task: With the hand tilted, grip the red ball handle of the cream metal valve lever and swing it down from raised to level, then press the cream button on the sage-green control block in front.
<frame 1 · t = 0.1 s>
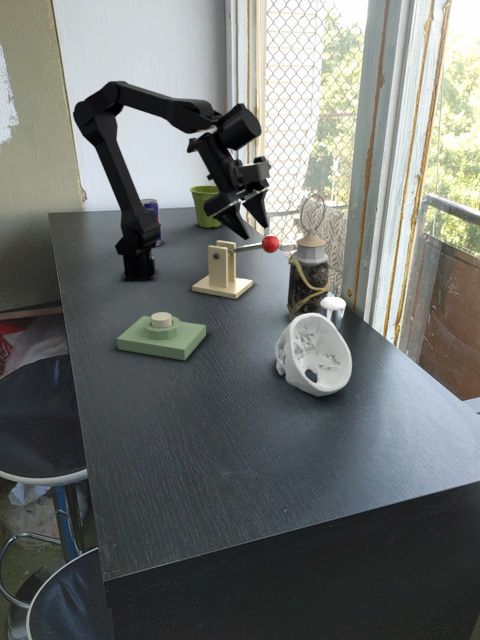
hand: (257, 233, 107), 15 cm above the table, tool tilted 35°, fingers open, 9 cm apart
button: (161, 320, 94), point 4 cm above the table, slide at 0.1 cm
lantern: (306, 320, 106), on the table
plant pot: (210, 225, 165), on the table
skull bowl: (307, 381, 86), on the table
bracket: (222, 288, 120), on the table
energy drink: (151, 244, 148), on the table
lever: (246, 248, 113), point 10 cm above the table, hinge at 17.1°
milkshake: (329, 343, 98), on the table
control block: (163, 342, 97), on the table
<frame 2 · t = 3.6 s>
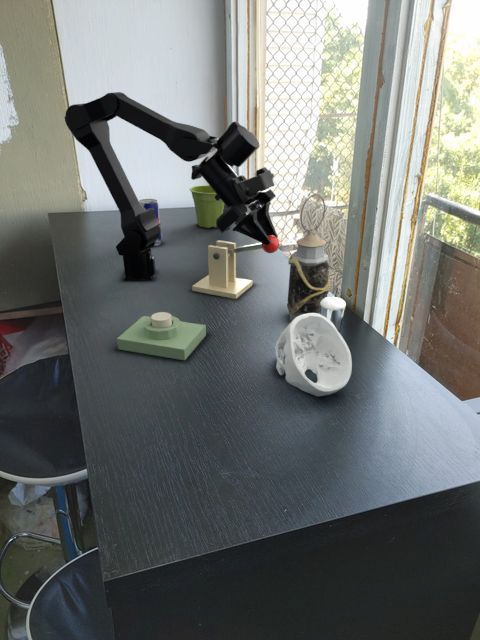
hand: (272, 241, 110), 13 cm above the table, tool tilted 45°, fingers closed on lever, 4 cm apart
lever: (246, 248, 113), point 10 cm above the table, hinge at 17.0°, touching gripper
everything else where it was.
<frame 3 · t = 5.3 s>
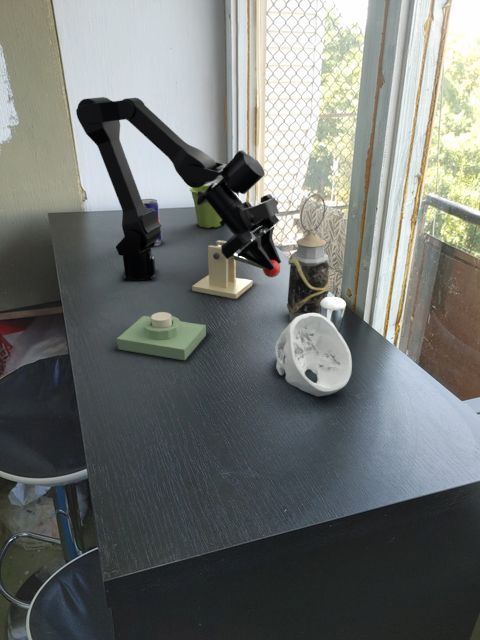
hand: (276, 266, 112), 7 cm above the table, tool tilted 45°, fingers closed on lever, 3 cm apart
lever: (247, 260, 114), point 8 cm above the table, hinge at -9.0°, touching gripper
everything else where it was.
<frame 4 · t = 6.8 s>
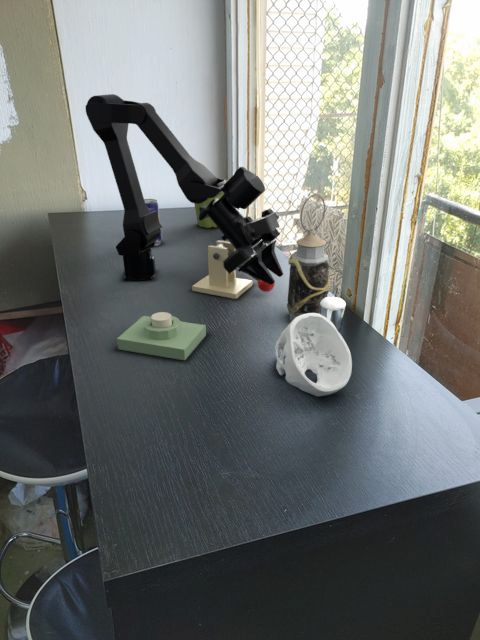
hand: (277, 279, 114), 4 cm above the table, tool tilted 45°, fingers open, 5 cm apart
lever: (244, 268, 115), point 6 cm above the table, hinge at -27.1°
everything else where it was.
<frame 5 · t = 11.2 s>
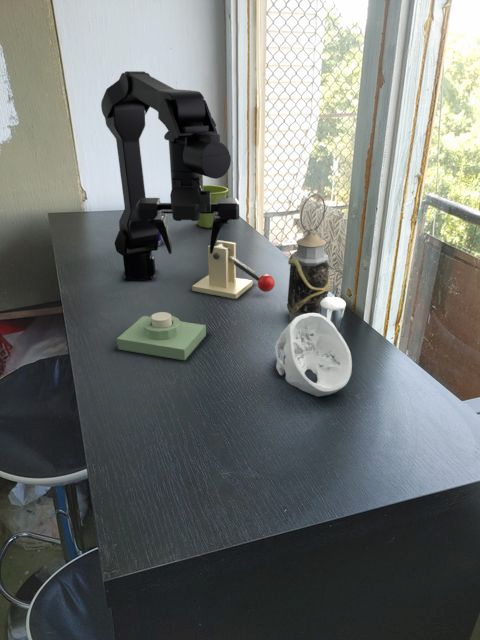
hand: (190, 253, 101), 13 cm above the table, tool pointing down, fingers open, 7 cm apart
nothing on the table moved.
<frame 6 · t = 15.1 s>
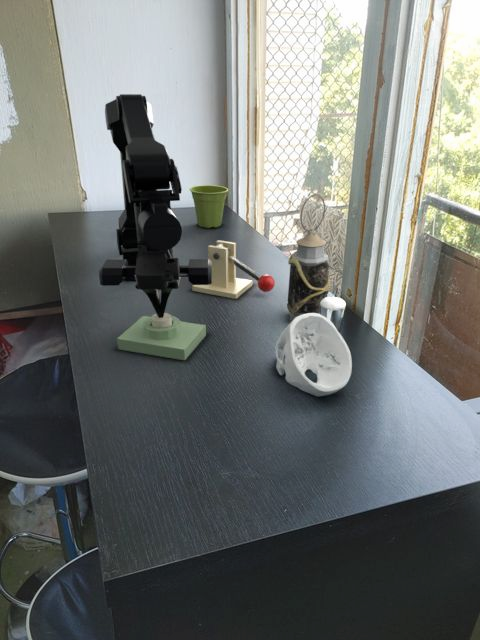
hand: (161, 316, 94), 5 cm above the table, tool pointing down, fingers closed, pressing on button
button: (161, 321, 95), point 4 cm above the table, slide at -0.1 cm, touching gripper
everything else where it was.
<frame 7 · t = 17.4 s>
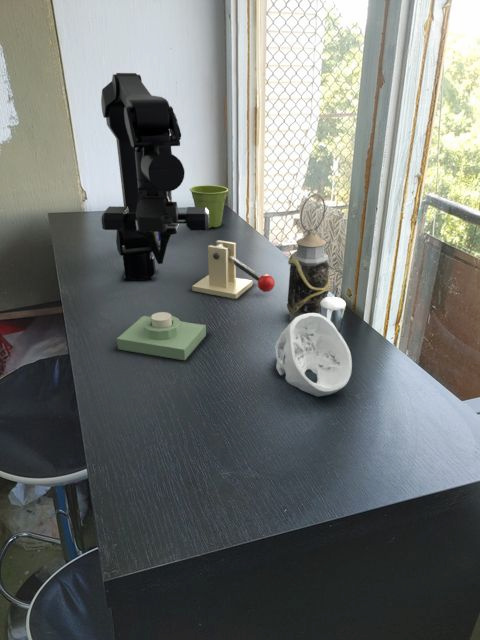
hand: (160, 263, 99), 12 cm above the table, tool pointing down, fingers closed
button: (161, 320, 94), point 4 cm above the table, slide at 0.1 cm
everything else where it was.
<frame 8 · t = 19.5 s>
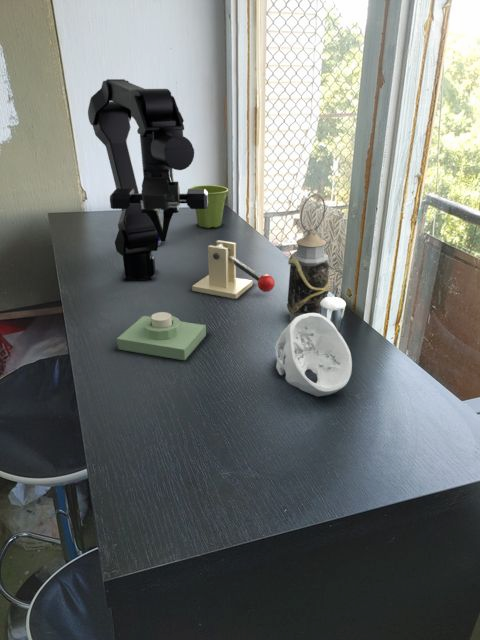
hand: (163, 241, 108), 13 cm above the table, tool pointing down, fingers closed
nothing on the table moved.
at the end: lever at -27° (first picture: +17°); button pushed in 1.1 cm at the most during the clip, back to where it started at the end; button slide at 0.1 cm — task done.
